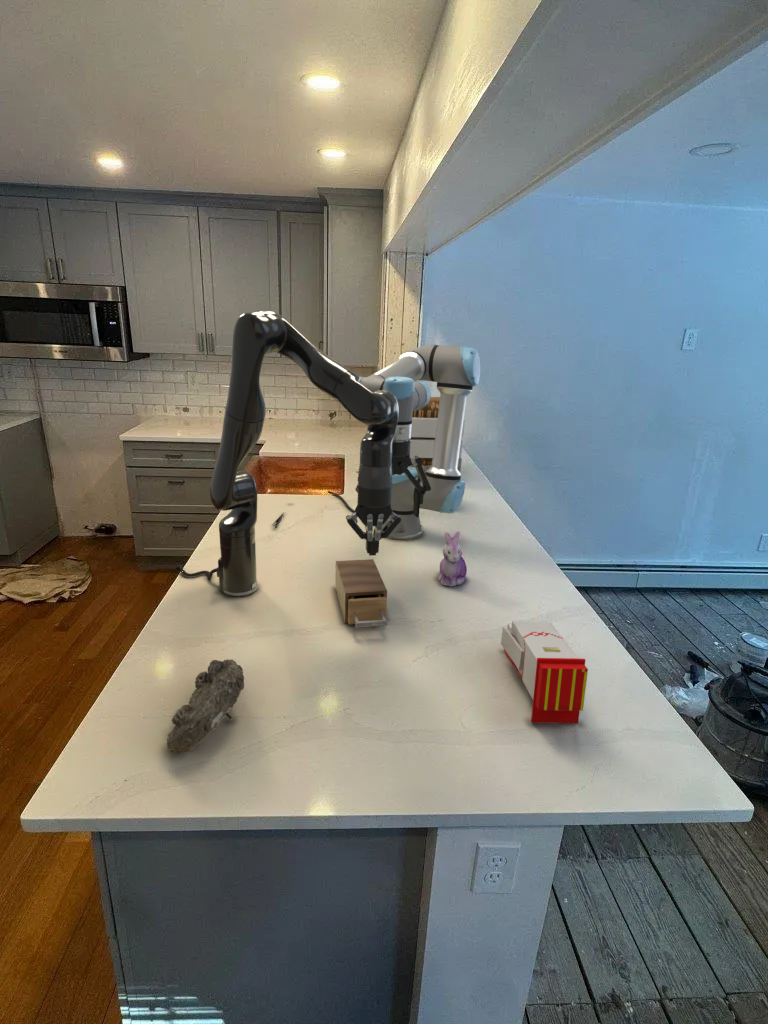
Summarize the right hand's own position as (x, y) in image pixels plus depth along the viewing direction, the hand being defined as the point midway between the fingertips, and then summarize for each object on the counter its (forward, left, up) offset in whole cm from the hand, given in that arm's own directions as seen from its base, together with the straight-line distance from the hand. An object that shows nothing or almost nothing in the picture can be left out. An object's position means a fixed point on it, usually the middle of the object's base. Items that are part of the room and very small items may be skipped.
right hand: (392, 517), depth 152 cm
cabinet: (+1, -11, -22) cm, 25 cm away
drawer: (+6, -14, -21) cm, 26 cm away
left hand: (+14, -18, -1) cm, 23 cm away
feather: (-68, +6, -22) cm, 71 cm away
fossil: (+19, -61, -22) cm, 68 cm away
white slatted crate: (-82, +92, -22) cm, 125 cm away
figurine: (+6, +19, -22) cm, 30 cm away
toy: (+50, -2, -22) cm, 55 cm away
